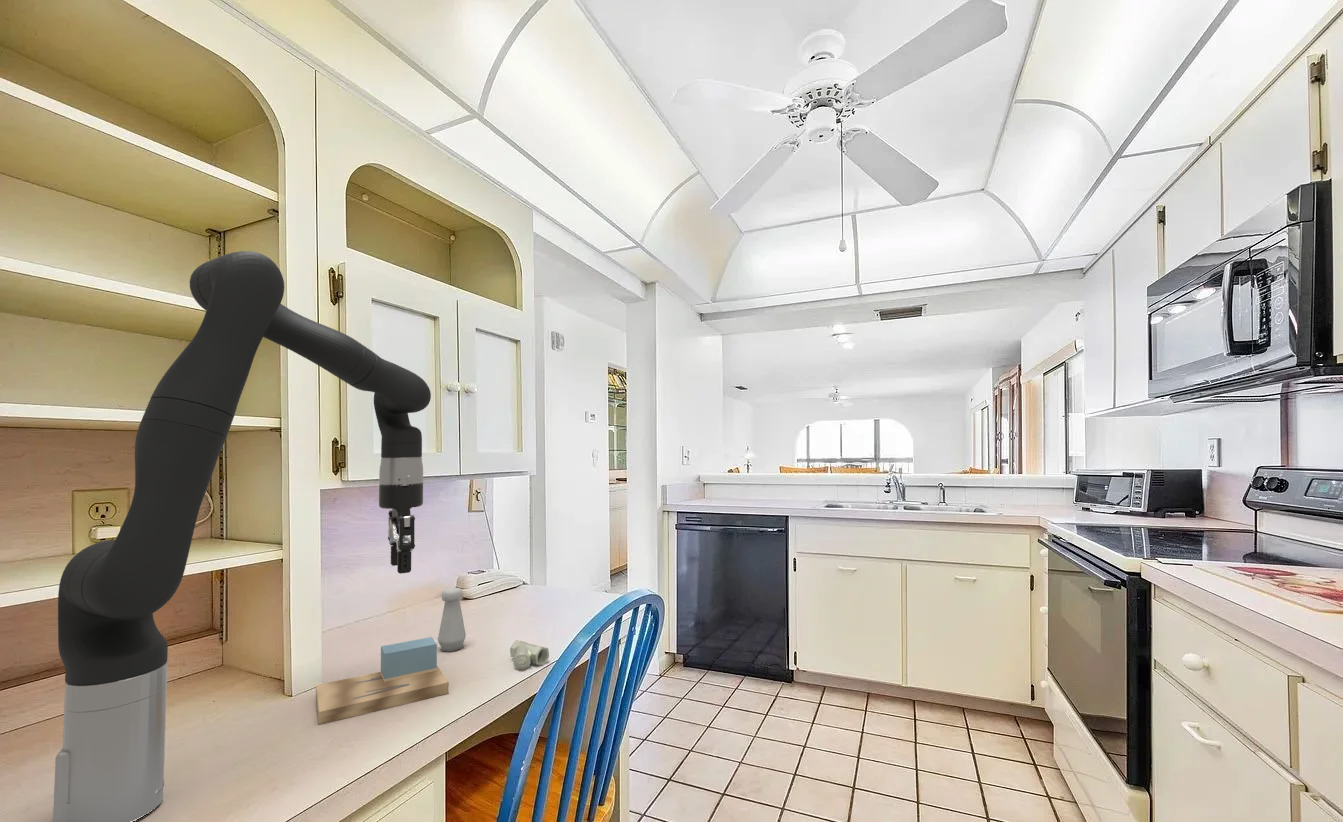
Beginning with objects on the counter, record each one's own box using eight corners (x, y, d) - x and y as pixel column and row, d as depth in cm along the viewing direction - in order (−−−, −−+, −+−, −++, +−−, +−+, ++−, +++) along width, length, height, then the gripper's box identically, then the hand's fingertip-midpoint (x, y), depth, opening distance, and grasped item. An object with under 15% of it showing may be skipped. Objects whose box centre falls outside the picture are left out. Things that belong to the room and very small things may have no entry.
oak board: (318, 724, 93) (319, 711, 94) (316, 696, 104) (316, 684, 104) (448, 693, 104) (448, 682, 105) (433, 670, 115) (433, 660, 115)
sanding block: (384, 682, 105) (384, 653, 105) (380, 673, 109) (380, 646, 110) (436, 670, 110) (436, 643, 110) (431, 662, 114) (431, 636, 115)
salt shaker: (456, 653, 125) (456, 592, 126) (432, 652, 126) (432, 591, 127) (470, 644, 130) (470, 586, 131) (447, 643, 132) (447, 585, 132)
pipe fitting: (523, 676, 113) (549, 662, 119) (522, 656, 113) (548, 643, 119) (497, 667, 118) (523, 655, 123) (496, 648, 118) (522, 636, 123)
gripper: (374, 481, 113) (373, 565, 112) (384, 484, 101) (383, 578, 100) (416, 479, 117) (415, 560, 116) (430, 482, 105) (429, 572, 104)
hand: (400, 568), depth 108 cm, fingers open, 8 cm apart
